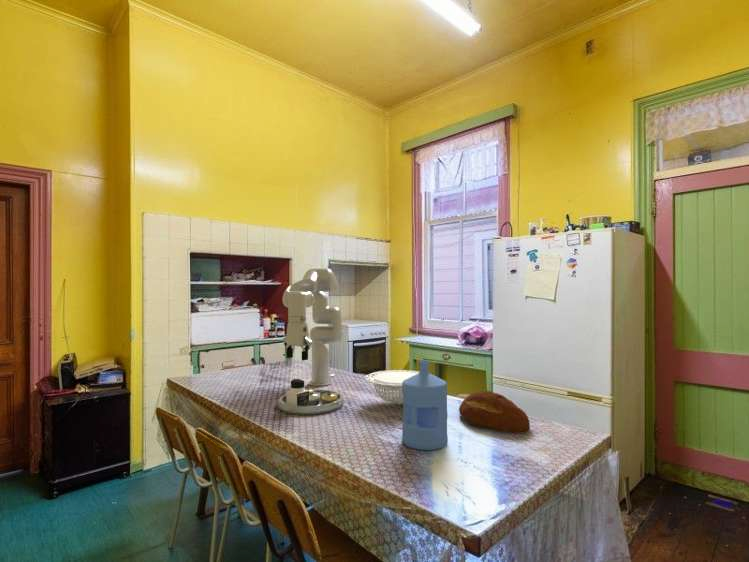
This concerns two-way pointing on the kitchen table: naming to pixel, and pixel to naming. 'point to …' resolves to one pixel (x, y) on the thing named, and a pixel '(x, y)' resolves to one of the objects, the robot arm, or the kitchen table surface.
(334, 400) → the carrier
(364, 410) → the kitchen table surface
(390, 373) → the colander
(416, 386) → the water jug
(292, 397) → the medicine bottle
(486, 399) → the bread
